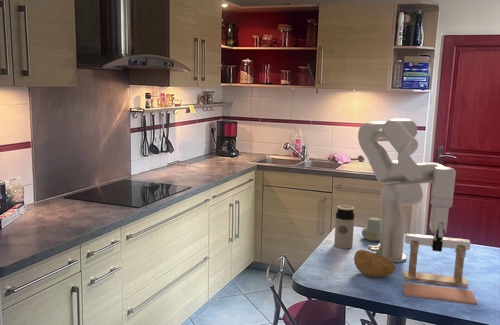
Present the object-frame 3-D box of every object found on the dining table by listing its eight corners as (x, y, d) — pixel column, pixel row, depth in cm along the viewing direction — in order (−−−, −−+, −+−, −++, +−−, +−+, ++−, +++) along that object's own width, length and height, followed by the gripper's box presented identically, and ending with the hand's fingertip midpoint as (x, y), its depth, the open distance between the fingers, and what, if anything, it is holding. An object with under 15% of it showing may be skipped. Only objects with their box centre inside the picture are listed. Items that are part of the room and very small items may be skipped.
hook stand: (403, 279, 178) (406, 242, 175) (402, 273, 184) (405, 237, 181) (467, 287, 173) (471, 248, 170) (464, 280, 178) (468, 243, 176)
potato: (388, 285, 172) (390, 261, 171) (349, 274, 182) (350, 251, 180) (397, 278, 179) (399, 254, 178) (358, 267, 188) (360, 245, 187)
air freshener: (388, 240, 223) (389, 219, 222) (380, 244, 217) (382, 223, 215) (366, 235, 230) (367, 214, 228) (358, 239, 224) (359, 218, 222)
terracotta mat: (404, 295, 165) (404, 293, 164) (403, 284, 174) (403, 282, 174) (477, 304, 159) (477, 302, 159) (471, 292, 169) (471, 290, 168)
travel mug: (338, 242, 219) (341, 203, 216) (355, 245, 214) (357, 206, 211) (331, 246, 212) (333, 207, 209) (347, 250, 208) (350, 210, 205)
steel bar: (405, 243, 177) (406, 235, 177) (405, 240, 180) (405, 233, 180) (469, 250, 172) (470, 242, 172) (468, 247, 175) (468, 239, 174)
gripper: (427, 194, 182) (423, 240, 185) (433, 205, 166) (427, 255, 170) (449, 196, 180) (443, 243, 183) (456, 207, 164) (450, 258, 168)
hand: (436, 248), depth 176 cm, fingers closed on steel bar, 3 cm apart
